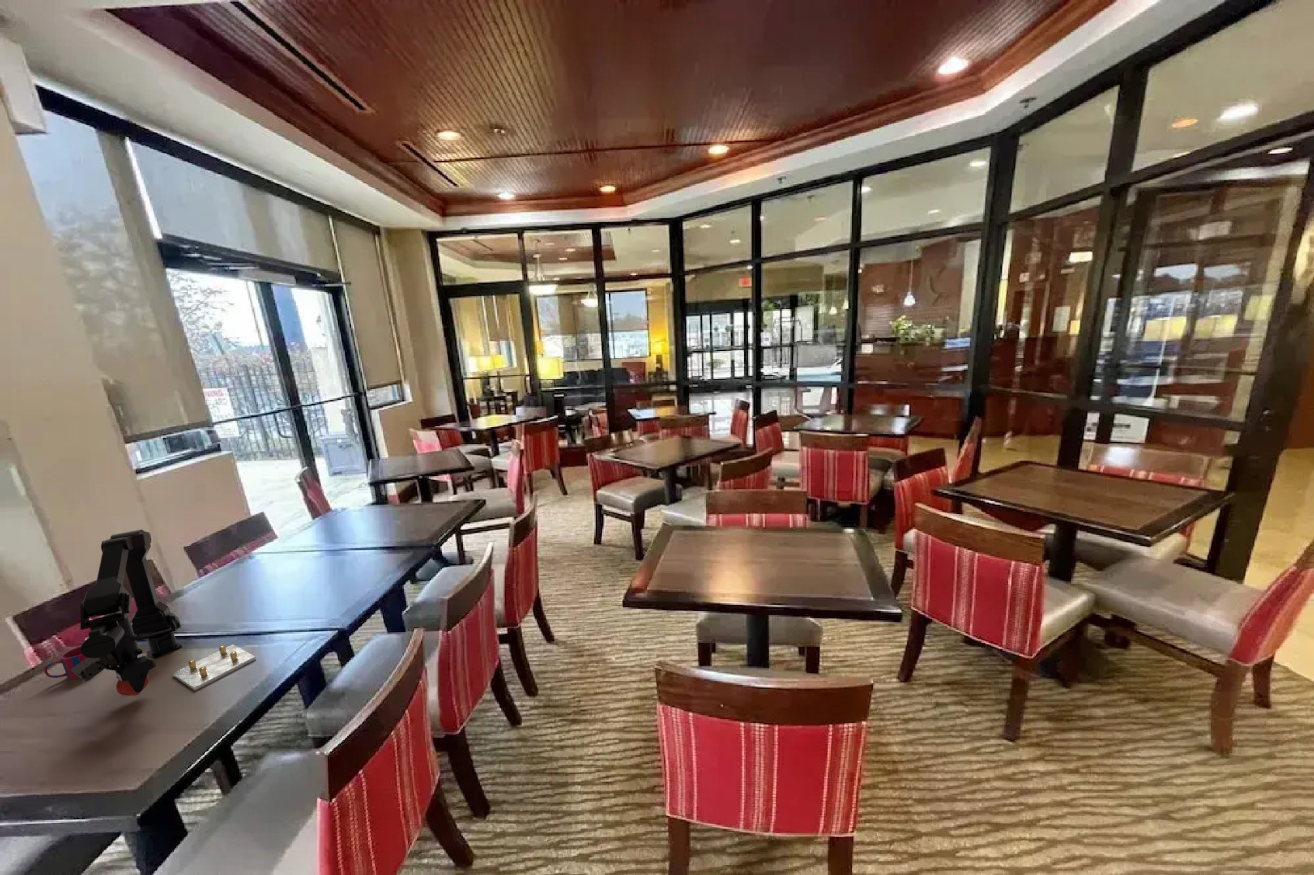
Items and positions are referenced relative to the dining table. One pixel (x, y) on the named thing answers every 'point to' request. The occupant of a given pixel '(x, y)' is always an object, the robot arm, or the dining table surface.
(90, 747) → the dining table surface
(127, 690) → the red rounded piece
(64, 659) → the mug
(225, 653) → the plate
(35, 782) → the dining table surface
